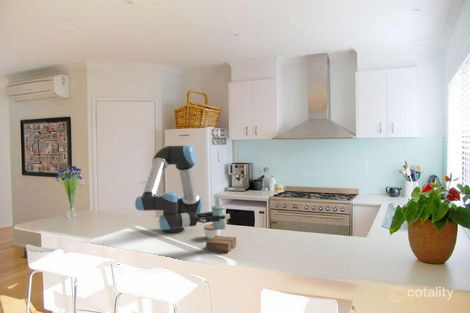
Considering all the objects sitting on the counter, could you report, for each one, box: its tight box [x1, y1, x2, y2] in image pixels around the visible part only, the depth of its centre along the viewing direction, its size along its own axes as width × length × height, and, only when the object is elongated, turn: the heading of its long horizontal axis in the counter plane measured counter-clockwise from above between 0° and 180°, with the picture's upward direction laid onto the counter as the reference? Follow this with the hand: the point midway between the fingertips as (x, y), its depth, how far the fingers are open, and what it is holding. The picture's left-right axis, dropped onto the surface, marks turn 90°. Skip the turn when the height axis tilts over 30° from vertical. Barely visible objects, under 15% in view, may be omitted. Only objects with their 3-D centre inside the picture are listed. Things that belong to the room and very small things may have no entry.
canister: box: [211, 205, 226, 231], centre depth 196 cm, size 8×8×12 cm
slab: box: [205, 235, 237, 253], centre depth 198 cm, size 13×13×5 cm
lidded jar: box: [203, 222, 222, 240], centre depth 218 cm, size 11×11×9 cm
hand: (226, 214), depth 198 cm, fingers closed on canister, 7 cm apart
